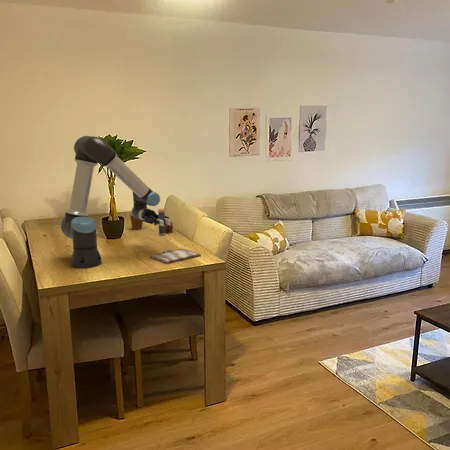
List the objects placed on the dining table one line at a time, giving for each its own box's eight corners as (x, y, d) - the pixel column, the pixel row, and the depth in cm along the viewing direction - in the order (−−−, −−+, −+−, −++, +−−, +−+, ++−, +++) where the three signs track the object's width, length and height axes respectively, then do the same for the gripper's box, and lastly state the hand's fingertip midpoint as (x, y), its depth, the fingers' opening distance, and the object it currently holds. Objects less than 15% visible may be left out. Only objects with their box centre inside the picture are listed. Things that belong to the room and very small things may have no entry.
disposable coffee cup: (141, 230, 311) (140, 213, 309) (127, 230, 313) (126, 212, 311) (146, 227, 320) (145, 210, 318) (133, 227, 322) (132, 210, 320)
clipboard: (166, 264, 238) (166, 260, 238) (149, 257, 250) (149, 253, 250) (200, 256, 252) (200, 252, 252) (183, 250, 264) (183, 246, 264)
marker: (161, 236, 245) (160, 210, 242) (157, 235, 248) (156, 209, 245) (166, 235, 247) (166, 209, 244) (163, 234, 250) (162, 208, 247)
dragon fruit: (168, 236, 302) (163, 235, 313) (178, 227, 305) (172, 226, 316) (160, 226, 300) (154, 225, 310) (170, 217, 302) (164, 217, 313)
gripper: (161, 220, 266) (180, 228, 246) (134, 223, 257) (152, 232, 238) (160, 207, 264) (180, 214, 245) (133, 210, 255) (151, 217, 236)
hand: (166, 223), depth 241 cm, fingers closed on marker, 3 cm apart
